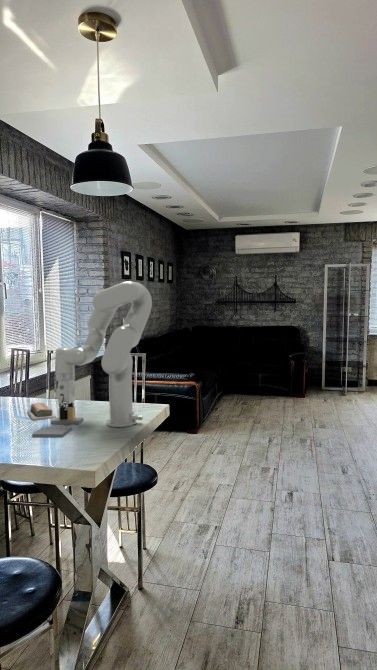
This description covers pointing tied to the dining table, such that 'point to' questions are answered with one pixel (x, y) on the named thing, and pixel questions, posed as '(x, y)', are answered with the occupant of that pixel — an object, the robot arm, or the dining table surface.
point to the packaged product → (40, 412)
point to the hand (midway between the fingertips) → (67, 416)
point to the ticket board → (52, 432)
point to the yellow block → (70, 420)
